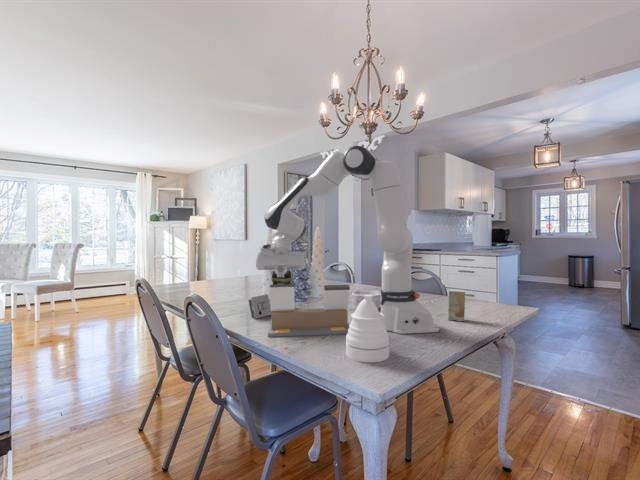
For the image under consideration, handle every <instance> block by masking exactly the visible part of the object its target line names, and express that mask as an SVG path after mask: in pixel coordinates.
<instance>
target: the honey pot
mask: <svg viewBox="0 0 640 480" xmlns="http://www.w3.org/2000/svg"><path fill="white" fill-rule="evenodd" d="M364 298H365V299H363V300H362V301H361V302H360V304H359V305H358V307H357V308H356V307H355V311H354V312H353V313H351V315H350V316H351V317H350V318H351V321H350V323H349V329H348V333H347V334H345V335H346V336H345V355H346V357H347V358H349V359H351V360H353V361H356V362H361V363H378V362H379V363H380V362H383V361H385V360H388V359H389V358H390V336H389V335H388V330H386V329H385V328H386V327H385V325H384V323H383V319H384V318H385V315H384V314H382V313H380V312H381V311H379V309H377V307H376V305H375V304H374V302H373V301H372V298H373V295H364Z"/></svg>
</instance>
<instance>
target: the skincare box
mask: <svg viewBox="0 0 640 480" xmlns="http://www.w3.org/2000/svg"><path fill="white" fill-rule="evenodd" d="M465 298H466V290H463V289H450V288H448V309H447V319H448V321H453V320H457V321H456V322H462V321H464V322H465V308H466V307H465V306H466V305H465V304H466V303H465V302H466V299H465Z"/></svg>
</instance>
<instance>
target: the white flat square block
mask: <svg viewBox="0 0 640 480" xmlns="http://www.w3.org/2000/svg"><path fill="white" fill-rule="evenodd" d="M323 288H324V289H323V290H324V291H323V308H324V310H334V309H346V310H348V309H349V296H350V288H351V287H350V284H325V285H323Z"/></svg>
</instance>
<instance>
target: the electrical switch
mask: <svg viewBox="0 0 640 480" xmlns="http://www.w3.org/2000/svg"><path fill="white" fill-rule="evenodd" d="M248 305H249V306H248V307H249V310H250V315H251V318H254V319H255V320H257V319H261V318H263V317H268V316H271V313H272V310H270V297H269V294H261V295H256V296H251V298H250V299H248Z"/></svg>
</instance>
